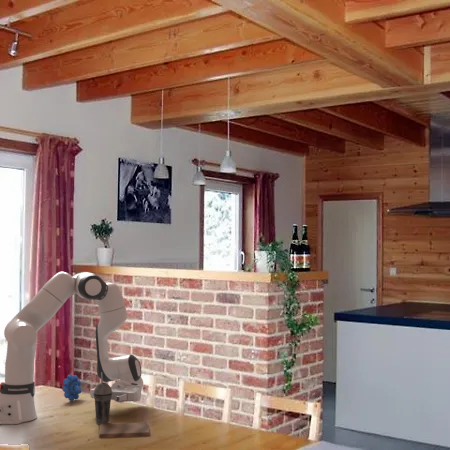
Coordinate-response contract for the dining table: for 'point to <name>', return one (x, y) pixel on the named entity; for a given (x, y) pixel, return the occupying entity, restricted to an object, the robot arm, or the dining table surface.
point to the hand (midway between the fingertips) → (107, 397)
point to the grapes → (72, 387)
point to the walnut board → (123, 430)
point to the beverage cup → (102, 402)
